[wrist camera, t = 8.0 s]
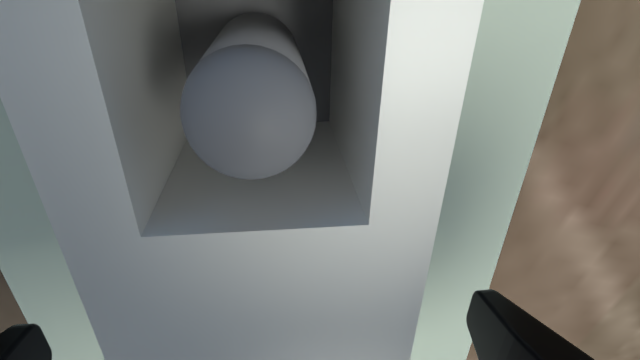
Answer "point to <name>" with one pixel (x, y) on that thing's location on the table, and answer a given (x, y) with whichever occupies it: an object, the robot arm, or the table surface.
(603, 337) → the table surface
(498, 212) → the post board
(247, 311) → the power strip bar
